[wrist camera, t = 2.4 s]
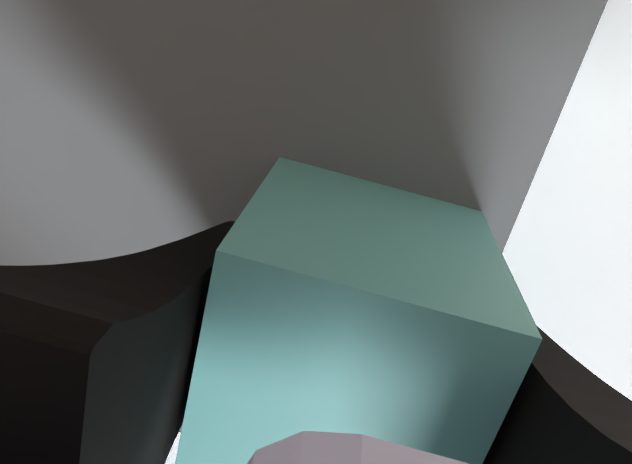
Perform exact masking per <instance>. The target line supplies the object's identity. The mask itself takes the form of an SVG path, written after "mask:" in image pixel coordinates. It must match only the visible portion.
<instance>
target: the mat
mask: <svg viewBox="0 0 632 464" xmlns="http://www.w3.org/2000/svg"><path fill="white" fill-rule="evenodd" d="M607 1H608V0H0V265H2V266H28V265H54V264H65V263H74V262H84V261H94V260H102V259H108V258H113V257H118V256H124V255H129V254H133V253H137V252H141V251H145V250H149V249H152V248H155V247H158V246H161V245H165V244H168V243H171V242H174V241H177V240H180V239H183V238H186V237H188V236H191V235H194V234H196V233H199V232H201V231H204V230H206V229H209V228H211V227H214V226H216V225H219V224H222V223H224V222H227V221H234V222H236V220H237V219H238V217H239V216H240V214H241V213H242V211H243V210H244V209H245V207H246V206H247V204H248V203H249V201H250V200H251V198H252V197H253V195H254V194H255V192H256V191H257V189H258V188H259V187H260V185H261V184H262V182H263V181H264V179H265V178H266V176H267V175H268V173H269V172H270V170H271V169H272V167H273V166H274V165H275V163H276V162H277V160H278V159H279V157H282V158H286V159H289V160H293V161H297V162H300V163H304V164H308V165H312V166H315V167H319V168H323V169H326V170H330V171H334V172H338V173H341V174H345V175H349V176H352V177H356V178H360V179H364V180H367V181H371V182H375V183H378V184H382V185H386V186H389V187H393V188H397V189H401V190H404V191H408V192H412V193H415V194H419V195H423V196H427V197H430V198H434V199H438V200H441V201H445V202H449V203H453V204H456V205H460V206H464V207H467V208H471V209H475V210H478V211H482V213H483V215H484V217H485V219H486V221H487V223H488V225H489V228H490V230H491V232H492V234H493V236H494V238H495V240H496V242H497V244H498V246H499V249H500V251H501V253H502V252H503V250H504V247H505V245H506V242H507V240H508V238H509V235H510V233H511V230H512V228H513V226H514V223H515V221H516V218H517V216H518V214H519V211H520V209H521V207H522V204H523V202H524V199H525V197H526V195H527V192H528V190H529V187H530V185H531V183H532V180H533V178H534V175H535V173H536V171H537V168H538V166H539V163H540V161H541V159H542V156H543V154H544V151H545V149H546V147H547V144H548V142H549V140H550V137H551V135H552V132H553V130H554V128H555V125H556V123H557V120H558V118H559V116H560V113H561V111H562V108H563V106H564V104H565V101H566V99H567V96H568V94H569V92H570V89H571V87H572V85H573V82H574V80H575V77H576V75H577V73H578V70H579V68H580V65H581V63H582V61H583V58H584V56H585V53H586V51H587V49H588V46H589V44H590V41H591V39H592V37H593V34H594V32H595V29H596V27H597V25H598V22H599V20H600V18H601V15H602V13H603V10H604V8H605V6H606V3H607ZM182 425H183V424H182ZM181 431H182V426H181V428H180V430H179V432H181Z"/></svg>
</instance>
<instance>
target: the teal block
mask: <svg viewBox="0 0 632 464" xmlns="http://www.w3.org/2000/svg"><path fill="white" fill-rule="evenodd" d="M541 341H542V337H541V335H540V333H539V331H538V328H537V326H536V324H535V322H534V320H533V318H532V316H531V314H530V312H529V310H528V307H527V305H526V303H525V301H524V299H523V297H522V295H521V293H520V291H519V289H518V286H517V284H516V282H515V280H514V278H513V276H512V274H511V272H510V270H509V268H508V265H507V263H506V261H505V259H504V257H503V255H502V253H501V251H500V249H499V246H498V244H497V242H496V240H495V238H494V236H493V234H492V232H491V230H490V228H489V225H488V223H487V221H486V219H485V217H484V215H483V213H482V211H478V210H475V209H471V208H467V207H464V206H460V205H456V204H453V203H449V202H445V201H441V200H438V199H434V198H430V197H427V196H423V195H419V194H415V193H412V192H408V191H404V190H401V189H397V188H393V187H389V186H386V185H382V184H378V183H375V182H371V181H367V180H364V179H360V178H356V177H352V176H349V175H345V174H341V173H338V172H334V171H330V170H326V169H323V168H319V167H315V166H312V165H308V164H304V163H300V162H297V161H293V160H289V159H286V158H282V157H279V159H278V160H277V162H276V163H275V165H274V166H273V167H272V169H271V170H270V172H269V173H268V175H267V176H266V178H265V179H264V181H263V182H262V184H261V185H260V187H259V188H258V189H257V191H256V192H255V194H254V195H253V197H252V198H251V200H250V201H249V203H248V204H247V206H246V207H245V209H244V210H243V211H242V213H241V214H240V216H239V217H238V219H237V220H236V222H235V223H234V225H233V226H232V228H231V229H230V230H229V232H228V233H227V235H226V236H225V238H224V239H223V241H222V242H221V244H220V245H219V247H218V248H217V250H216V253H215V258H214V263H213V268H212V274H211V279H210V284H209V289H208V294H207V300H206V305H205V310H204V315H203V321H202V326H201V331H200V336H199V342H198V347H197V352H196V357H195V362H194V368H193V373H192V378H191V383H190V389H189V394H188V399H187V404H186V410H185V415H184V420H183V425H182V431H181V436H180V441H179V446H178V451H177V457H176V462H175V464H247V463H248V461H249V460H250V458H251V457H252V455H253V454H254V453H255V451H256V450H258V449H260V448H263V447H265V446H268V445H270V444H273V443H275V442H277V441H280V440H282V439H285V438H287V437H290V436H292V435H295V434H297V433H299V432H302V431H317V432H333V433H349V434H363V435H367V436H370V437H374V438H378V439H381V440H385V441H389V442H392V443H396V444H399V445H403V446H407V447H410V448H414V449H418V450H421V451H425V452H429V453H432V454H436V455H440V456H443V457H447V458H450V459H454V460H458V461H461V462H465V463H469V464H483V462H484V459H485V457H486V455H487V453H488V451H489V449H490V447H491V445H492V443H493V441H494V439H495V437H496V435H497V433H498V430H499V428H500V426H501V424H502V422H503V420H504V418H505V416H506V414H507V412H508V410H509V408H510V406H511V404H512V401H513V399H514V397H515V395H516V393H517V391H518V389H519V387H520V385H521V383H522V381H523V379H524V377H525V375H526V373H527V370H528V368H529V366H530V364H531V362H532V360H533V358H534V356H535V354H536V352H537V350H538V348H539V346H540V344H541Z"/></svg>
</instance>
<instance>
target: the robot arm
mask: <svg viewBox="0 0 632 464" xmlns="http://www.w3.org/2000/svg"><path fill="white" fill-rule="evenodd" d="M234 223H235V222H234V221H227V222H224V223H222V224H219V225H216V226H214V227H211V228H209V229H206V230H204V231H201V232H199V233H196V234H194V235H191V236H188V237H186V238H183V239H180V240H177V241H174V242H171V243H168V244H165V245H161V246H158V247H155V248H152V249H149V250H145V251H141V252H137V253H133V254H129V255H124V256H118V257H113V258H108V259H102V260H94V261H84V262H74V263H65V264H54V265H28V266H2V265H0V464H164V463H165V461H166V459H167V456H168V454H169V452H170V449H171V447H172V445H173V442H174V440H175V438H176V436H177V434H178V432H179V430H180V428H181V426H182V424H183V420H184V415H185V410H186V404H187V399H188V394H189V389H190V383H191V378H192V373H193V368H194V362H195V357H196V352H197V347H198V342H199V336H200V331H201V326H202V321H203V315H204V310H205V305H206V300H207V294H208V289H209V284H210V279H211V274H212V268H213V263H214V258H215V253H216V250H217V248H218V247H219V245H220V244H221V242H222V241H223V239H224V238H225V236H226V235H227V233H228V232H229V230H230V229H231V228H232V226H233V225H234ZM537 328H538V327H537ZM538 331H539V333H540V335H541V337H542V341H541V344H540V346H539V348H538V350H537V352H536V354H535V356H534V358H533V360H532V362H531V364H530V366H529V368H528V370H527V373H526V375H525V377H524V379H523V381H522V383H521V385H520V387H519V389H518V391H517V393H516V395H515V397H514V399H513V401H512V404H511V406H510V408H509V410H508V412H507V414H506V416H505V418H504V420H503V422H502V424H501V426H500V428H499V430H498V433H497V435H496V437H495V439H494V441H493V443H492V445H491V447H490V449H489V451H488V453H487V455H486V457H485V459H484V462H483V464H632V401H631V400H629V399H628V398H626V397H625V396H624V395H622V394H621V393H619V392H618V391H616V390H615V389H613V388H612V387H610V386H609V385H608V384H606V383H605V382H604V381H602V380H601V379H600V378H598V377H597V376H596V375H594V374H593V373H592V372H591V371H589V370H588V369H587V368H586V367H584V366H583V365H582V364H581V363H579V362H578V361H577V360H576V359H574V358H573V357H572V356H571V355H569V354H568V353H567V352H566V351H565V350H564V349H562V348H561V347H560V346H559V345H558V344H557V343H555V342H554V341H553V340H552V339H551V338H550V337H549V336H547V335H546V334H545V333H544V332H543V331H542V330H541V329H540V328H538ZM247 464H469V463H465V462H461V461H458V460H454V459H450V458H447V457H443V456H440V455H436V454H432V453H429V452H425V451H421V450H418V449H414V448H410V447H407V446H403V445H399V444H396V443H392V442H389V441H385V440H381V439H378V438H374V437H370V436H367V435H363V434H349V433H333V432H317V431H302V432H299V433H297V434H295V435H292V436H290V437H287V438H285V439H282V440H280V441H277V442H275V443H273V444H270V445H268V446H265V447H263V448H260V449H258V450H256V451H255V453H254V454H253V455H252V457H251V458H250V460H249V461H248V463H247Z"/></svg>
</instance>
